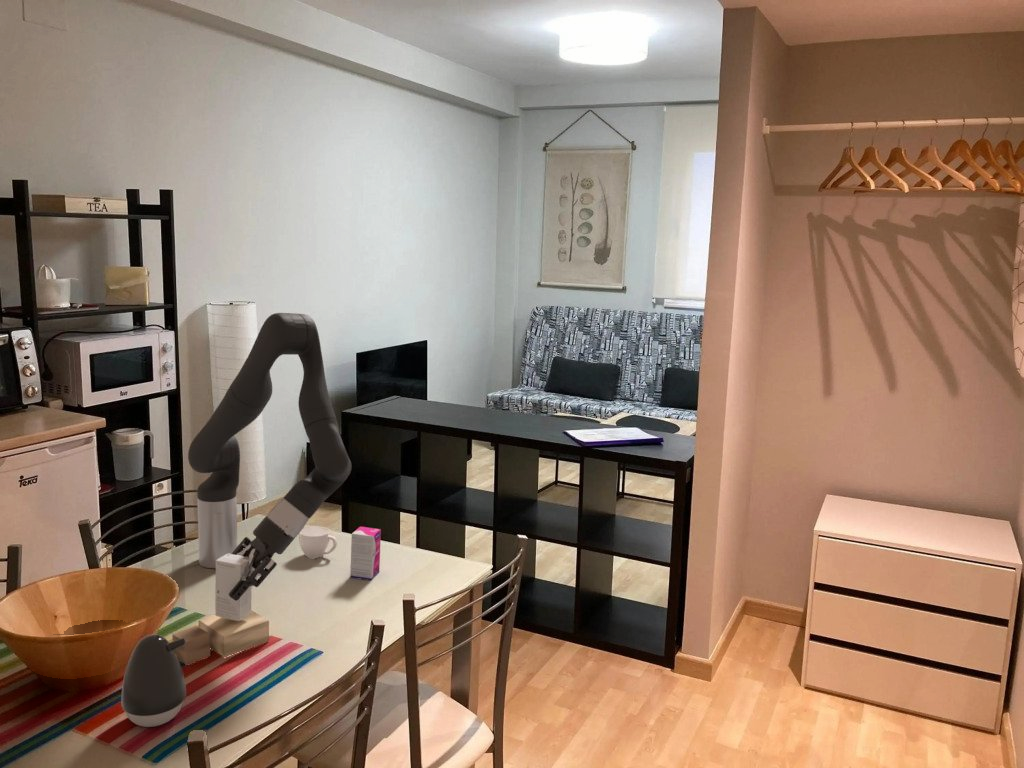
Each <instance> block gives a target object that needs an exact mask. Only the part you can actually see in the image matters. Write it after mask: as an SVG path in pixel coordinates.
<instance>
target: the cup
mask: <svg viewBox="0 0 1024 768" xmlns="http://www.w3.org/2000/svg"><path fill="white" fill-rule="evenodd" d="M298 535H299V536H298V539H299V540H298V541H299V546H300V549H301V551H302V553H303V554H304V556H305V557H306V556H307V557H309V558H308V559H310V558H317V559H319V558H318V557H320V558H322V557H323V556H324V555H329V554H331V553H332V552H333V551H335V550H336V548H337V545H338V542H337V541H338V540H337V538H336V537H335V536H334V535H331V530H330V529H329V528H328V527H325V526H322V525H321V526H320V525H313V526H312V525H310V526H306V527H304V528H303V529H302V530H301V532H300V533H299V534H298ZM330 540H331V541H332V547H331V548H330V549H329V550H328V547H329V543H330ZM321 556H322V557H321ZM307 557H306V558H307Z"/></svg>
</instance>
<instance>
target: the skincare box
mask: <svg viewBox="0 0 1024 768" xmlns="http://www.w3.org/2000/svg"><path fill="white" fill-rule="evenodd" d="M248 559H249V558H248V557H244V556H240V555H233V554H229V553H228V554H226V555H224V556H222V557H221V558H219V559H217V560H216V568H215V598H214V599H215V601H214V602H215V603H214V604H215V606H214V607H215V613H214V614H215V615H216V616H218V617H222V618H226V619H231V620H235V621H240V620H242V619H243V618H245V617H246V616H248V615H249V614H250V613H251V610H252V592H253V591H252V589H253V586H252V587H251V586H250V587H249V588H248V589H247V590H246V591H245V592H244V594H243V595H242V596H241V597H240V598H239V600H237V601H235V600H234V599H232V598H231V597H230V596H229V593H230V591H231V590H232V589H233V588H234V587H235V585H236V584H237V583H238V582H239V581H240V580H242V577H243V575H244V573H245V566H246V564H247V563H248ZM250 575H251V574H250ZM250 575H249V576H250Z"/></svg>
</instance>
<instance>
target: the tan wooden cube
mask: <svg viewBox="0 0 1024 768" xmlns="http://www.w3.org/2000/svg"><path fill="white" fill-rule="evenodd" d="M171 637H172V642H173V641H176V640H179V639H182V638H184V639H185V641H186V643H185V644H184V645H182V646H180V647H178V648H176V649H174V650H175V652H176V654H177V656H178V659H179V660H181V661H182V662H183V663H185V664H187V665H188V664H191V663H193V662H196V661H198V660H201V659H203V658H206V657H208V656H210V657H211V649H210V634H209V633H208V632H206V631H204V630H203V629H201V628H199V626H198V625H193V626H192V627H188V628H185V629H183V630H180V631H178V632H174V633H172V634H171ZM206 659H207V658H206ZM201 661H202V660H201ZM183 663H182V664H183ZM196 663H197V662H196ZM191 665H192V664H191Z"/></svg>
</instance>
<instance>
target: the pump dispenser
mask: <svg viewBox="0 0 1024 768" xmlns="http://www.w3.org/2000/svg"><path fill="white" fill-rule="evenodd" d="M185 643H186V641H185V639H184V638H182V639H179V640H176V641H173V640H172V641H171V642H170V641H169V640H168V639H167V638H166V637H165V636H163V635H160V634H156V633H154V634H152V633H151V634H148V635H146V636H144V637H142V638H140V640H139V641H138V642H137V644H136V645H135V647H134V648H133V651H132V652H131V655H130V657H129V658H128V659H129V660H128V662H127V664H126V668H125V671H124V672H125V673H124V676H123V681H122V687H121V696H120V697H121V699H120V700H121V708H122V710H123V711H124V713H125V715H126V716H127V718H128V719H129V720H130V721H131V722H132V723H134V724H135V725H137V726H140V727H145V728H151V727H159V726H161V725H164V724H166V723H168V722H170V721H171V720H173V719H174V718H175V717H176V716H177V715H178V714H179V712H180V710H181V708H183V707H182V706H183V703H184V702H185V698H186V697H187V687H186V686H187V685H186V680H185V676H184V671H183V668H182V665H181V664H182V663H181V662H180V661H179V659H178V656H177V654H176V652H175V650H174V649H176V648H178V647H180V646H182V645H184V644H185Z"/></svg>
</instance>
